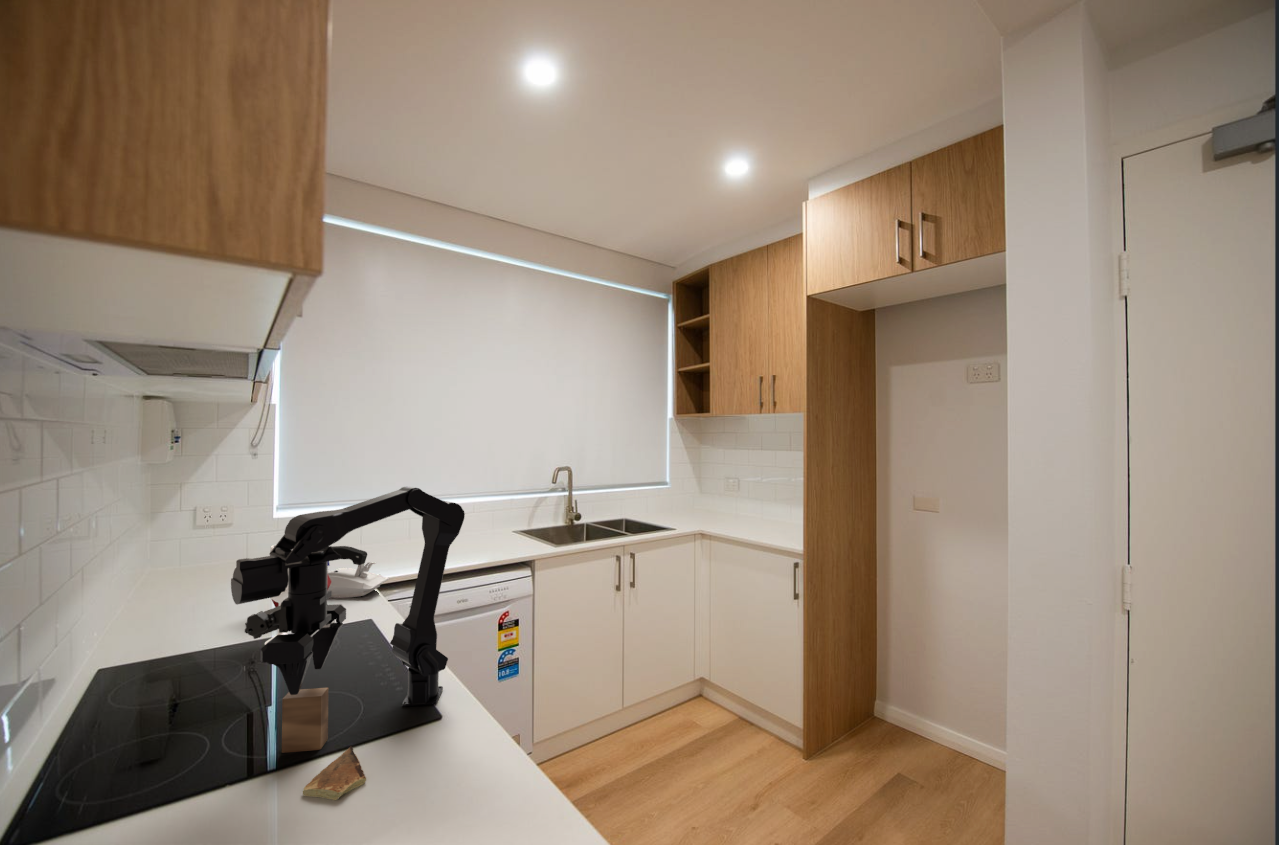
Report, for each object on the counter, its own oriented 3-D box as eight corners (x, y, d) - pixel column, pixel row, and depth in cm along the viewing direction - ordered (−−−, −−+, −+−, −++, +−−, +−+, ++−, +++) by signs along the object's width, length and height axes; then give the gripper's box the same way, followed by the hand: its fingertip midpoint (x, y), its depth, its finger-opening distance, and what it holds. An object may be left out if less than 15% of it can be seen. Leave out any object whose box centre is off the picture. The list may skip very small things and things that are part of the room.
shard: (351, 754, 90) (351, 743, 90) (392, 759, 89) (392, 748, 89) (300, 798, 79) (300, 786, 79) (346, 805, 78) (346, 792, 78)
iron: (372, 599, 169) (373, 551, 169) (296, 598, 169) (297, 550, 169) (389, 589, 179) (390, 544, 180) (318, 587, 180) (319, 543, 180)
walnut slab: (290, 741, 93) (291, 689, 93) (328, 738, 94) (328, 687, 94) (281, 752, 90) (282, 698, 90) (320, 749, 91) (321, 696, 91)
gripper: (283, 576, 100) (282, 660, 100) (222, 610, 81) (221, 713, 81) (347, 573, 102) (346, 656, 101) (302, 606, 83) (301, 708, 83)
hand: (306, 681), depth 92 cm, fingers open, 9 cm apart
